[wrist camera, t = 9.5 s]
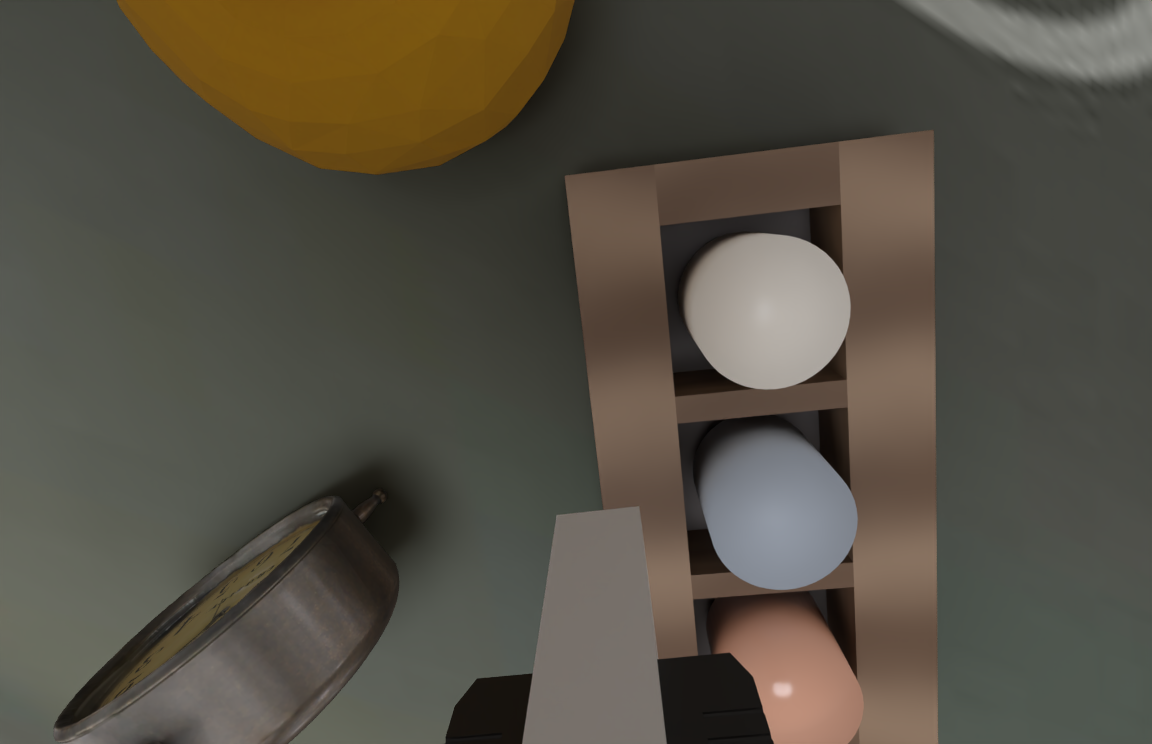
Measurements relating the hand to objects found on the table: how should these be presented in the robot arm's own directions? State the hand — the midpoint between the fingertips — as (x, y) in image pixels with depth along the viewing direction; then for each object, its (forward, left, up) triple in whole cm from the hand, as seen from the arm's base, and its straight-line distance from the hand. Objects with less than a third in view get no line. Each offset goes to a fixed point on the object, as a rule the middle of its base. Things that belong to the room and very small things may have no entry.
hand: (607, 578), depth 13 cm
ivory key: (-3, +5, -15) cm, 16 cm away
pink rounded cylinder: (+11, +5, -15) cm, 19 cm away
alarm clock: (+7, -14, -17) cm, 23 cm away
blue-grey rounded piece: (+4, +5, -15) cm, 16 cm away
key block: (+4, +5, -17) cm, 18 cm away
